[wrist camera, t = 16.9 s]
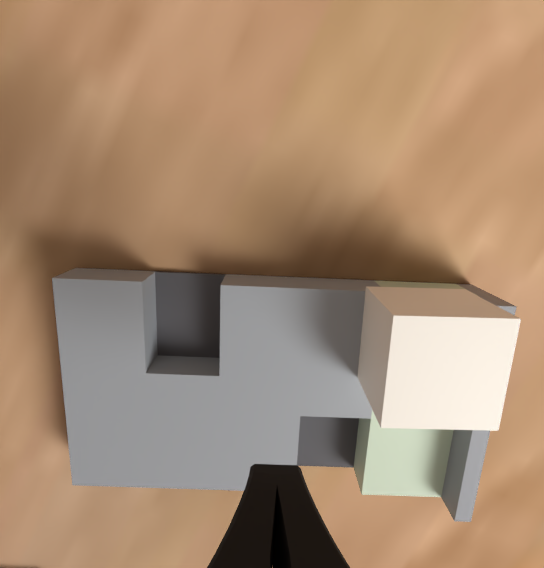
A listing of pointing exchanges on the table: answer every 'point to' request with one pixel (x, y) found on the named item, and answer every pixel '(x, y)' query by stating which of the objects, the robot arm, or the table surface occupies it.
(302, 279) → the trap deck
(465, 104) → the table surface
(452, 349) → the block
